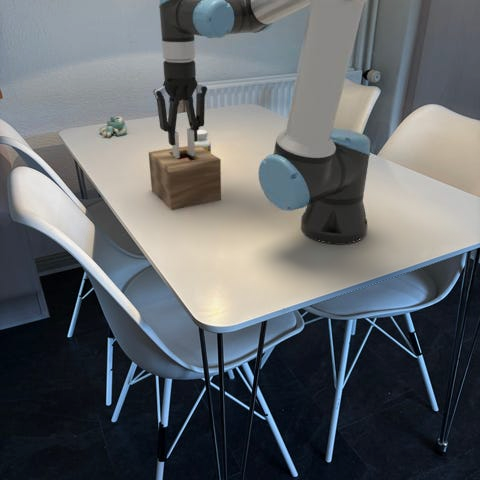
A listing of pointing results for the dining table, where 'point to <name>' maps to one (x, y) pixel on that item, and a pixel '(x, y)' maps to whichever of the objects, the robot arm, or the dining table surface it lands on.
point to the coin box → (185, 177)
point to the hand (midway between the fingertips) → (183, 155)
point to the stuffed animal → (114, 127)
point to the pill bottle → (203, 140)
